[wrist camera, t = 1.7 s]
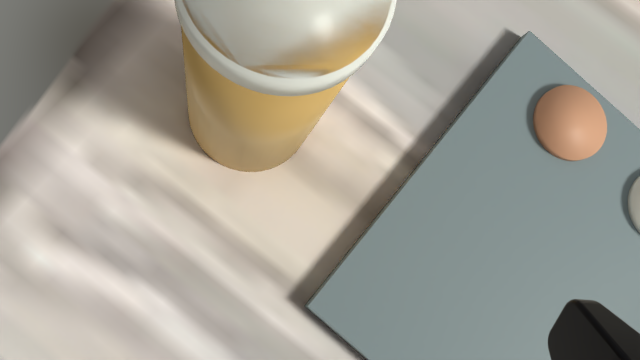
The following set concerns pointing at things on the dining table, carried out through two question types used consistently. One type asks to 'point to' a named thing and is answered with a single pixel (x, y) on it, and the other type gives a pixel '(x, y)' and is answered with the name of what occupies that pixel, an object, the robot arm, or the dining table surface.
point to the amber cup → (270, 70)
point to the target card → (499, 225)
